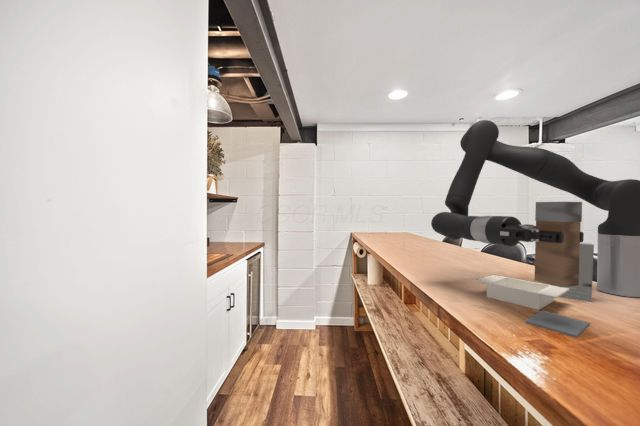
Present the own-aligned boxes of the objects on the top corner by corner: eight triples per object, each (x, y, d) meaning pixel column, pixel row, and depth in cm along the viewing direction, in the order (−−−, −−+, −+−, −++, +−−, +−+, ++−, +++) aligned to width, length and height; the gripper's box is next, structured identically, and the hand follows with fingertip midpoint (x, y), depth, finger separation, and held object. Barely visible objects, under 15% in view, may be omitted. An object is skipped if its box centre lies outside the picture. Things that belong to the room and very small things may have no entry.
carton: (493, 289, 81) (493, 274, 81) (569, 306, 67) (569, 288, 66) (475, 296, 74) (475, 280, 74) (555, 316, 60) (555, 296, 60)
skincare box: (550, 297, 73) (551, 241, 73) (550, 291, 79) (550, 238, 79) (594, 304, 68) (594, 243, 68) (590, 297, 73) (591, 241, 73)
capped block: (551, 278, 58) (553, 202, 58) (579, 285, 53) (582, 202, 53) (533, 280, 57) (535, 202, 57) (561, 287, 52) (563, 201, 52)
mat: (541, 314, 61) (541, 310, 61) (589, 327, 55) (589, 322, 55) (524, 325, 55) (524, 320, 55) (576, 340, 49) (576, 335, 49)
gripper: (473, 215, 67) (546, 218, 50) (516, 215, 71) (597, 218, 54) (472, 245, 67) (545, 257, 50) (515, 243, 71) (596, 254, 54)
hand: (572, 237), depth 52 cm, fingers closed on capped block, 5 cm apart
